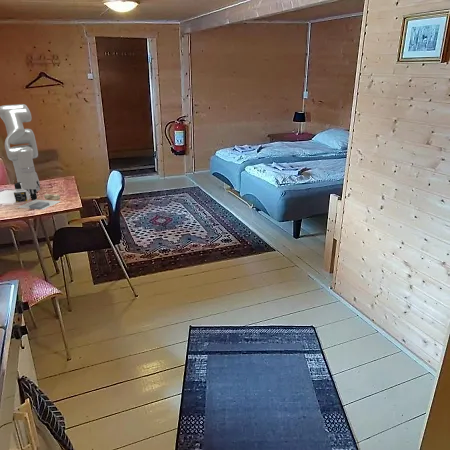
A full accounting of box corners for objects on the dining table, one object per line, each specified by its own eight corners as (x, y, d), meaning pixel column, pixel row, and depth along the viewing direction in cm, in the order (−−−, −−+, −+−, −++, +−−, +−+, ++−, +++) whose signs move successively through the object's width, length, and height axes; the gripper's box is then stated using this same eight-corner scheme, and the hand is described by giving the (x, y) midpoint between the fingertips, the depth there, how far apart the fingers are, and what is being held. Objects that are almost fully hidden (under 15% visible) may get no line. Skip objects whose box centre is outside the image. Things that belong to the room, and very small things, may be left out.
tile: (29, 205, 244) (39, 206, 242) (38, 201, 251) (49, 202, 249) (29, 208, 245) (40, 209, 243) (39, 204, 252) (49, 205, 250)
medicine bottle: (15, 203, 259) (11, 184, 255) (19, 199, 266) (14, 182, 261) (27, 201, 260) (23, 183, 256) (30, 198, 267) (26, 180, 262)
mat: (16, 208, 248) (16, 207, 248) (35, 200, 262) (35, 199, 262) (43, 210, 242) (43, 209, 242) (61, 202, 256) (61, 201, 256)
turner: (43, 200, 261) (42, 195, 260) (49, 198, 265) (47, 193, 264) (64, 202, 256) (63, 197, 255) (69, 199, 261) (68, 194, 259)
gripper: (12, 171, 239) (19, 200, 245) (33, 171, 234) (40, 202, 241) (22, 168, 245) (28, 197, 252) (42, 168, 241) (48, 198, 248)
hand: (34, 199), depth 246 cm, fingers closed
